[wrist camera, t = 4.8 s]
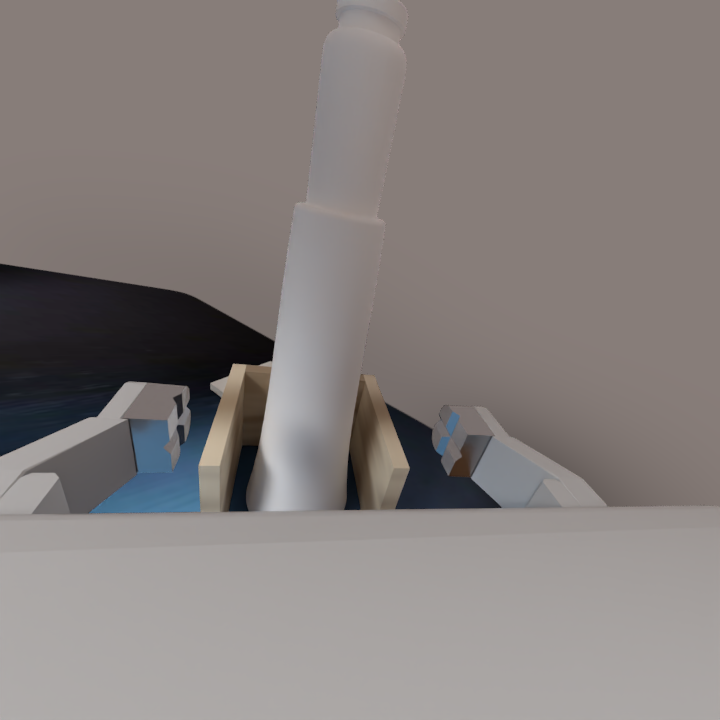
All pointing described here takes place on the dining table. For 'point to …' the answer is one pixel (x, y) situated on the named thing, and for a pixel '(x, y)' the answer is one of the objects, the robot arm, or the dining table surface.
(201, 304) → the dining table surface
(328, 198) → the cosmetic bottle
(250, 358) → the dining table surface
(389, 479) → the beech cradle
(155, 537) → the robot arm
